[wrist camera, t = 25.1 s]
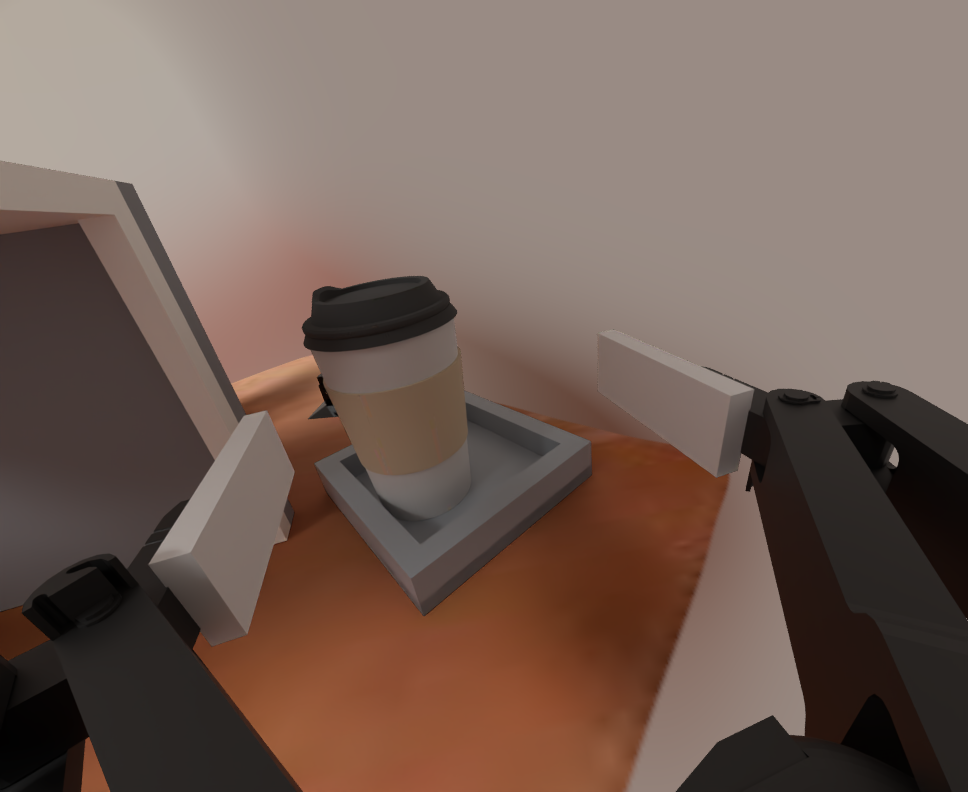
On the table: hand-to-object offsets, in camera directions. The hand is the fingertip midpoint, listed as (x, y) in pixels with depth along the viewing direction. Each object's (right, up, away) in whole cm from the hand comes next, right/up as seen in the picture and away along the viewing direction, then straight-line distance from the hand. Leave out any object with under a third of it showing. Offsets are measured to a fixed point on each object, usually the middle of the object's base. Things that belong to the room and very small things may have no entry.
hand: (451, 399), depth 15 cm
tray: (-1, -7, +15) cm, 16 cm away
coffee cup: (-3, -7, +13) cm, 15 cm away
